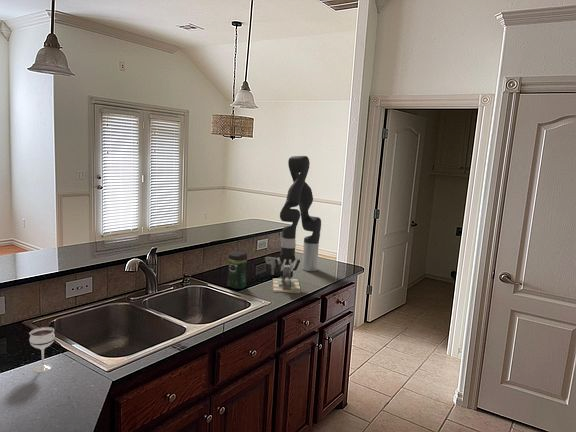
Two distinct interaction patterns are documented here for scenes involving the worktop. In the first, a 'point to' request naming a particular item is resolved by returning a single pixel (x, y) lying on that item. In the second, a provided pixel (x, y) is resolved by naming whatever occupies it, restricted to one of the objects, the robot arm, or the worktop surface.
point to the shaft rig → (286, 285)
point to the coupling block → (286, 272)
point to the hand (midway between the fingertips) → (286, 277)
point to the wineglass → (42, 344)
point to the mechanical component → (272, 263)
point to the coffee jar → (237, 270)
